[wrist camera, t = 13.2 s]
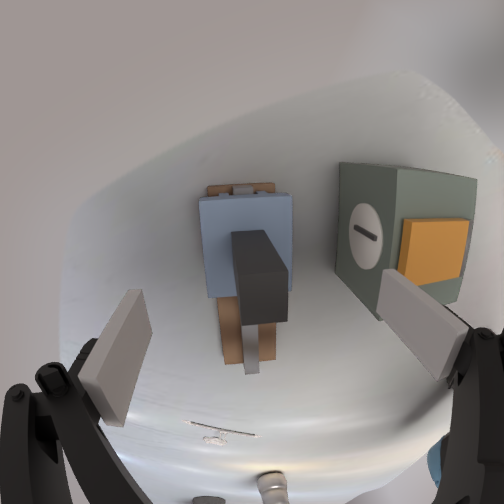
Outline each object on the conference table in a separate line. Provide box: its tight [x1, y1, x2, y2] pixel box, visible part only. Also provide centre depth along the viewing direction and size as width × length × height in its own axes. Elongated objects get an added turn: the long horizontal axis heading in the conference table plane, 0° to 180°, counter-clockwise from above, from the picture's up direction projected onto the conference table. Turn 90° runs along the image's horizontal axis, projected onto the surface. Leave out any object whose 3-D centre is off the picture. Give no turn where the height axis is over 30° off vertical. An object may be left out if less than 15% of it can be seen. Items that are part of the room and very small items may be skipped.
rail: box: [207, 183, 276, 375], centre depth 27 cm, size 20×6×4 cm, turn 2°
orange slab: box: [397, 218, 473, 286], centre depth 18 cm, size 5×8×1 cm, turn 92°
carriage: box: [199, 191, 292, 326], centre depth 20 cm, size 8×7×12 cm
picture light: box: [182, 420, 261, 446], centre depth 37 cm, size 14×4×2 cm, turn 64°
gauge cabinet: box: [335, 162, 477, 321], centre depth 23 cm, size 12×11×10 cm
